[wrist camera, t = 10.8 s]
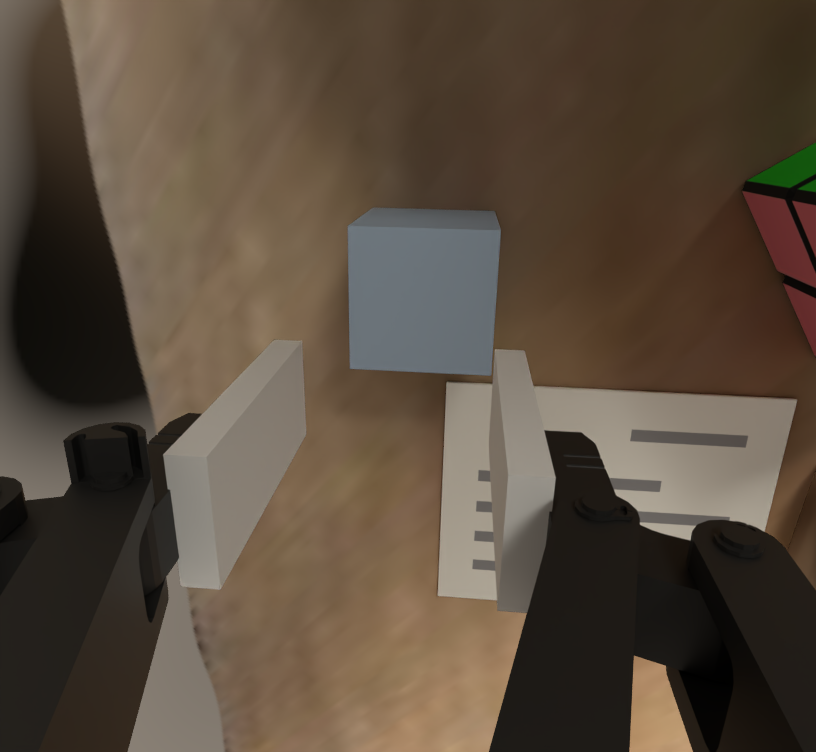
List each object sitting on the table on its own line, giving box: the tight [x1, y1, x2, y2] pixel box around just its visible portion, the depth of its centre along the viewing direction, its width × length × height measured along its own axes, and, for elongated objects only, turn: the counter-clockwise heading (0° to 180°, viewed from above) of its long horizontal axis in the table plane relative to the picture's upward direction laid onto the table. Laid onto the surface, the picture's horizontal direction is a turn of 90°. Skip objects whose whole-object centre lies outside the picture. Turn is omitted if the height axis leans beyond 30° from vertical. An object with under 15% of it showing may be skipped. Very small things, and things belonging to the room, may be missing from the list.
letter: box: [438, 381, 797, 600], centre depth 36 cm, size 14×18×1 cm
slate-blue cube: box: [348, 207, 501, 376], centre depth 29 cm, size 6×6×7 cm
